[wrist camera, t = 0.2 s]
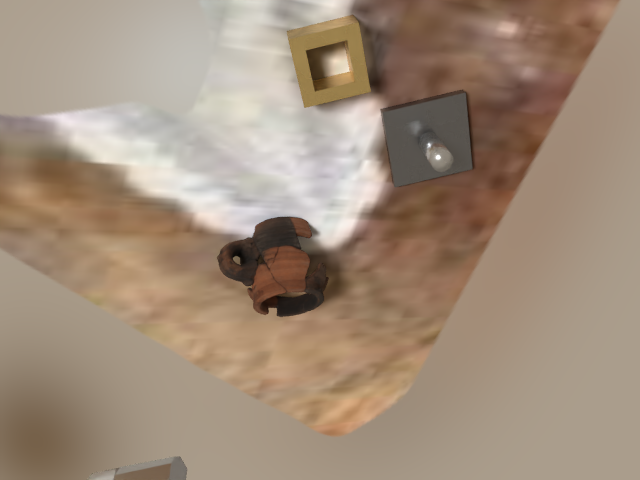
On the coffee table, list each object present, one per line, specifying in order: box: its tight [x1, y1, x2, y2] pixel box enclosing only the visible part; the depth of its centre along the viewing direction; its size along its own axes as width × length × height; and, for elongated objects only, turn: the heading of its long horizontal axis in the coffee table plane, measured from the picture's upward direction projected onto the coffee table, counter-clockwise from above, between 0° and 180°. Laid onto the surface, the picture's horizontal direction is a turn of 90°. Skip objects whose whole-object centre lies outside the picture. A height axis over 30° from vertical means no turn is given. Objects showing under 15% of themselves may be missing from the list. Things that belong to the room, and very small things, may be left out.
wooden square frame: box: [287, 15, 371, 108], centre depth 52 cm, size 6×6×4 cm
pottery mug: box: [217, 217, 329, 317], centre depth 61 cm, size 12×10×8 cm
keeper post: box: [380, 90, 472, 187], centre depth 55 cm, size 8×8×6 cm
